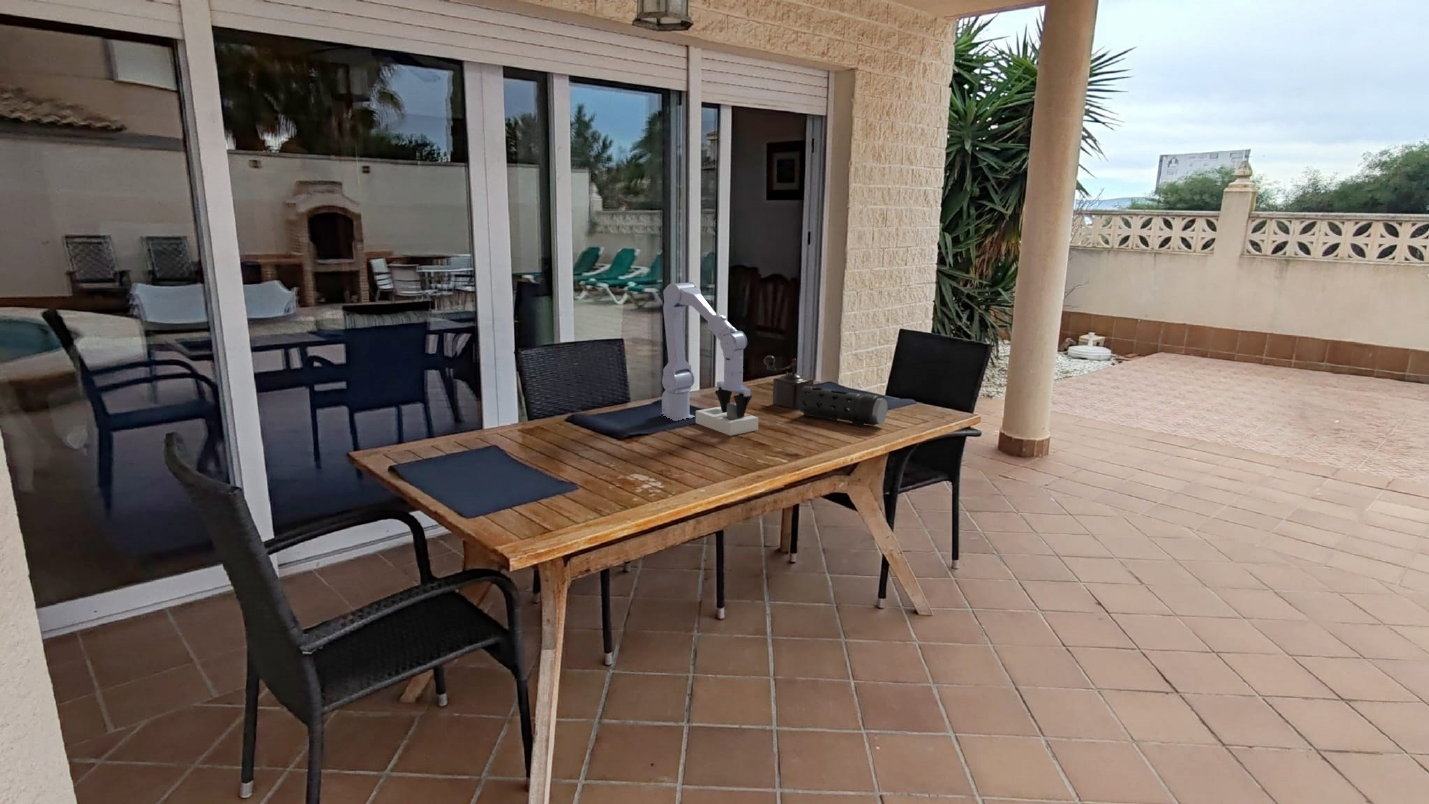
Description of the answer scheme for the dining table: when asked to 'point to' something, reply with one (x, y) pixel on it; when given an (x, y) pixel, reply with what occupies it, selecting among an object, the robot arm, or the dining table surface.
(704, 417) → the socket block
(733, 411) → the peg
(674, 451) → the dining table surface
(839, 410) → the muzzle brake
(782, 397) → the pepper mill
